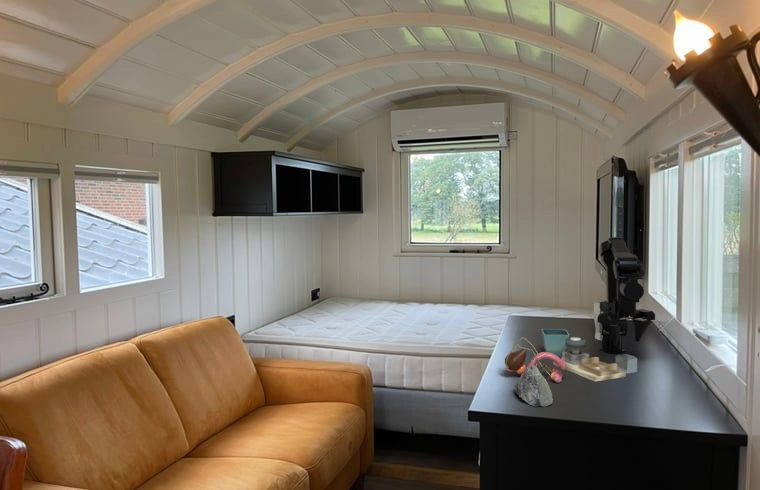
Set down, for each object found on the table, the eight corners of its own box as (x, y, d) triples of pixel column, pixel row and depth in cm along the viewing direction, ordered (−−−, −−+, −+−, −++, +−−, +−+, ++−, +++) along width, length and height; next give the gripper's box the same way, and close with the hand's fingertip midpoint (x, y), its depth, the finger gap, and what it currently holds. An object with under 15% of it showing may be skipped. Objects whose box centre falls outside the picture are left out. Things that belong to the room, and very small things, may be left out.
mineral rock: (515, 390, 158) (514, 356, 157) (553, 393, 154) (553, 359, 153) (511, 405, 145) (511, 369, 145) (552, 409, 142) (552, 372, 141)
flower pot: (569, 360, 187) (569, 334, 186) (543, 359, 188) (543, 334, 188) (566, 353, 195) (566, 329, 195) (541, 352, 197) (541, 328, 196)
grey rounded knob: (576, 350, 184) (576, 335, 184) (589, 355, 178) (589, 339, 178) (561, 352, 182) (561, 337, 181) (574, 357, 176) (574, 341, 175)
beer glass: (597, 336, 220) (597, 300, 219) (615, 338, 215) (615, 301, 214) (590, 339, 215) (590, 302, 214) (607, 341, 210) (607, 304, 209)
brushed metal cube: (625, 367, 176) (625, 353, 176) (637, 372, 172) (637, 357, 171) (615, 369, 175) (615, 354, 175) (627, 373, 170) (627, 358, 170)
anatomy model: (573, 375, 158) (533, 331, 161) (533, 405, 163) (496, 362, 166) (574, 365, 168) (537, 324, 172) (537, 393, 173) (502, 352, 177)
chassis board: (581, 360, 186) (581, 348, 186) (625, 376, 167) (626, 363, 167) (553, 364, 182) (553, 352, 182) (594, 381, 163) (594, 368, 163)
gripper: (629, 289, 183) (629, 334, 184) (585, 294, 176) (585, 340, 177) (656, 294, 172) (656, 342, 173) (610, 299, 166) (610, 348, 167)
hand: (626, 343), depth 173 cm, fingers open, 9 cm apart
